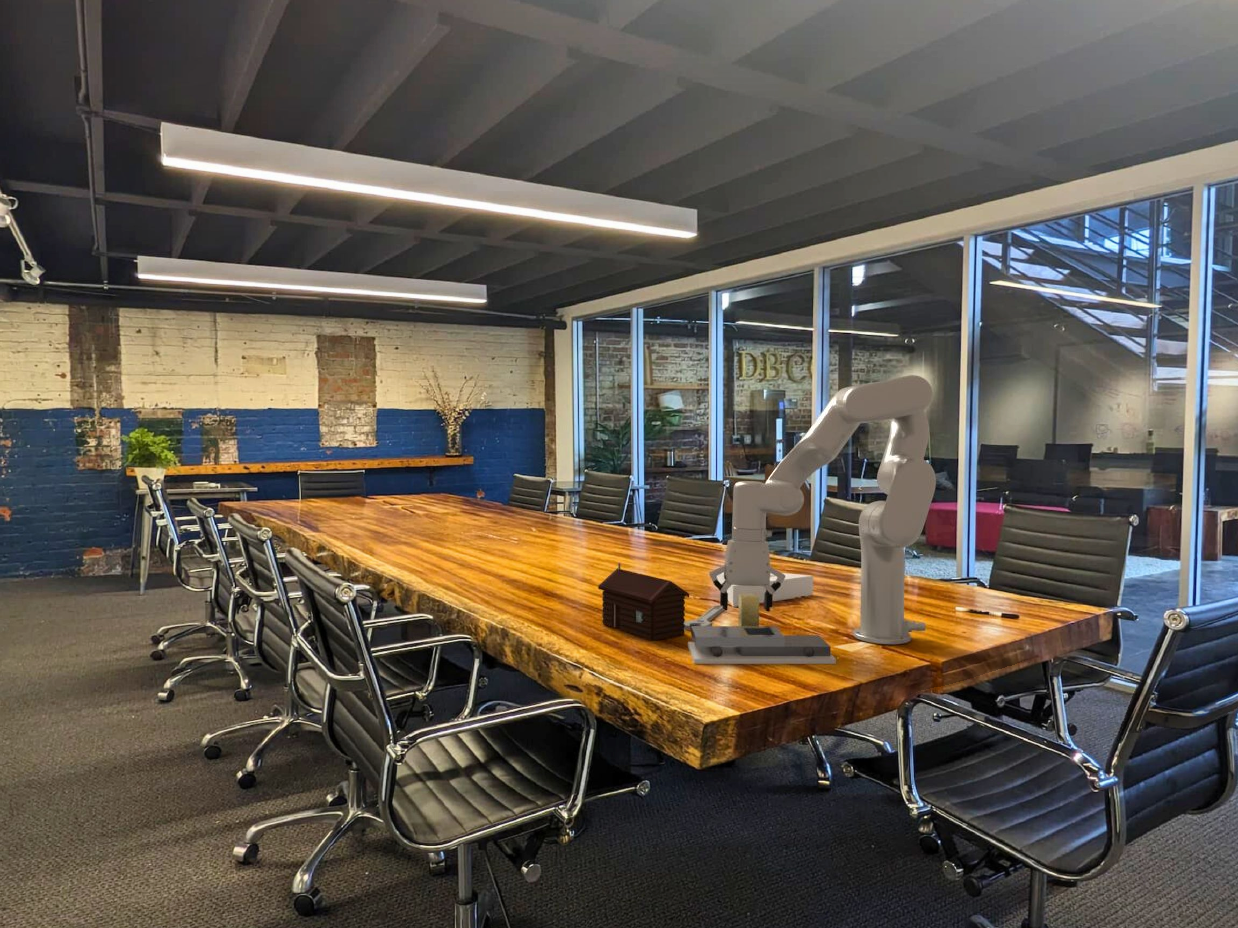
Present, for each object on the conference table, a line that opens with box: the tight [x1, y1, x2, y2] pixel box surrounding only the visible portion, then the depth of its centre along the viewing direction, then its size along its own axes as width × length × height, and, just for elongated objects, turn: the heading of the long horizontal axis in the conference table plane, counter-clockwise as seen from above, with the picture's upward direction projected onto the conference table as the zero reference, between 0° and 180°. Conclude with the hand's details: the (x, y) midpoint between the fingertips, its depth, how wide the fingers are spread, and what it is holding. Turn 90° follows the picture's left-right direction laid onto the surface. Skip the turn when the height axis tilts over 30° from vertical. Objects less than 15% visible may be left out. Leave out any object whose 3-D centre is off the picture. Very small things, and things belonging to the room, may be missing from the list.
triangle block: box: [716, 566, 814, 608], centre depth 227 cm, size 30×26×6 cm
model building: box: [597, 562, 690, 642], centre depth 184 cm, size 21×12×15 cm, turn 37°
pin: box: [737, 594, 760, 626], centre depth 175 cm, size 4×4×10 cm
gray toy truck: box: [690, 625, 832, 657], centre depth 163 cm, size 28×10×4 cm, turn 90°
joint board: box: [687, 641, 837, 665], centre depth 163 cm, size 29×13×1 cm, turn 90°
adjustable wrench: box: [684, 604, 724, 632], centre depth 194 cm, size 25×6×2 cm, turn 153°
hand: (745, 609), depth 175 cm, fingers open, 9 cm apart
